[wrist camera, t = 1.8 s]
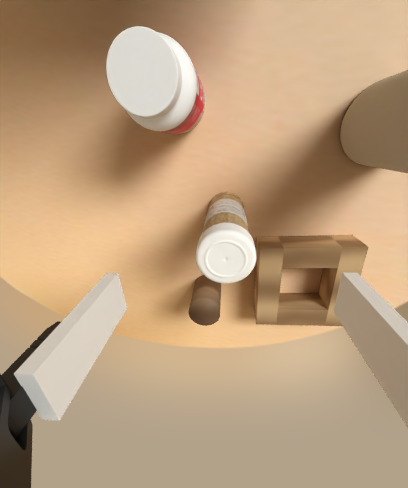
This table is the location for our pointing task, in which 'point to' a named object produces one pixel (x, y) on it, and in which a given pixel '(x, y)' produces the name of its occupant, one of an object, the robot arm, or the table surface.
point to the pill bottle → (155, 81)
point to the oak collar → (303, 256)
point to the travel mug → (379, 125)
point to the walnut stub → (205, 301)
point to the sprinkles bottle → (226, 241)
